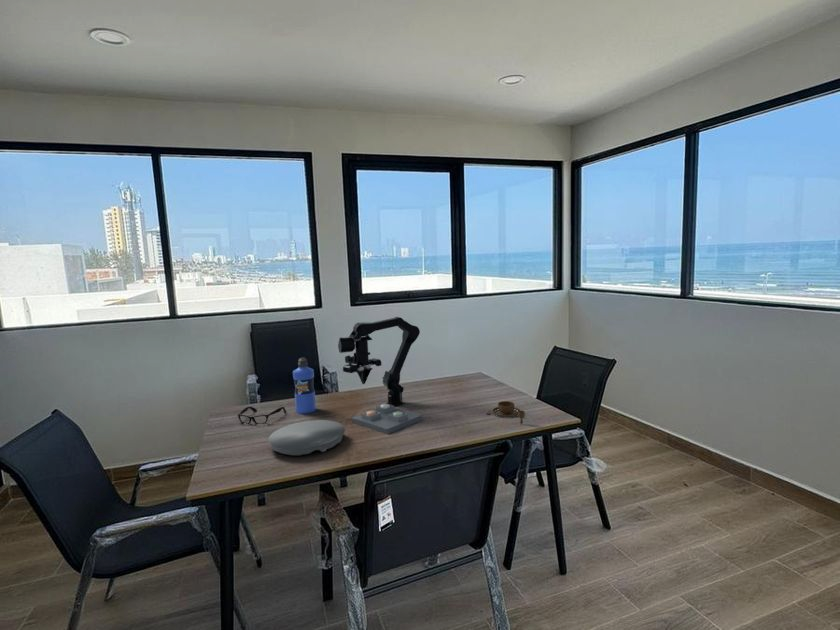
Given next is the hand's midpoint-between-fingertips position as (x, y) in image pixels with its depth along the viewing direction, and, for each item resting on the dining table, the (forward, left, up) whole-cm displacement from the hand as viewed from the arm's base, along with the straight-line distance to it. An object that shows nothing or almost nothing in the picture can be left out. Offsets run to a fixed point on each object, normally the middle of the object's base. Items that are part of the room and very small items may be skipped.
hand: (363, 383), depth 207 cm
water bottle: (+18, -21, -12) cm, 30 cm away
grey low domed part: (+40, +14, -13) cm, 44 cm away
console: (+5, +20, -12) cm, 24 cm away
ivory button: (0, +14, -10) cm, 17 cm away
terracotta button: (+10, +16, -9) cm, 21 cm away
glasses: (+36, -29, -13) cm, 48 cm away
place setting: (-30, +57, -13) cm, 66 cm away
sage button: (+4, +26, -9) cm, 28 cm away
